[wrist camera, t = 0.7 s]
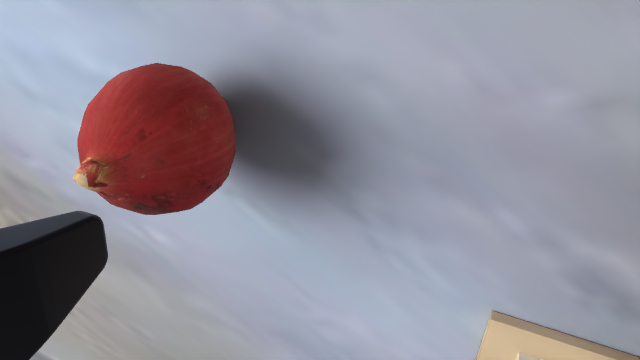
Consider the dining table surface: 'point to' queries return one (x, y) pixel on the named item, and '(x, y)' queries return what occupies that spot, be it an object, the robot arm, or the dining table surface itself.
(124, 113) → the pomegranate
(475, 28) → the dining table surface
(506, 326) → the cork pad
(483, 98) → the dining table surface
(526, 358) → the tile
